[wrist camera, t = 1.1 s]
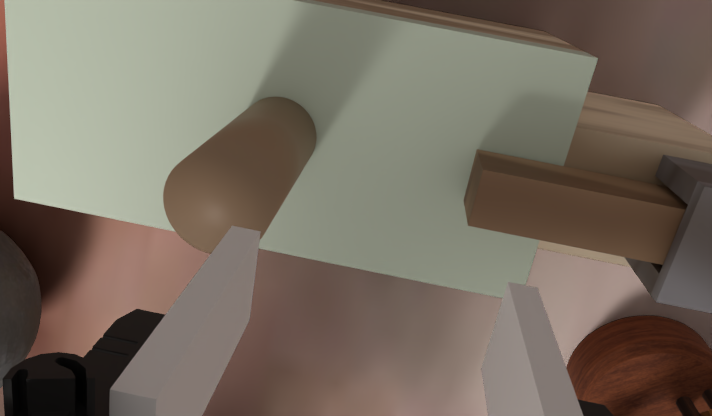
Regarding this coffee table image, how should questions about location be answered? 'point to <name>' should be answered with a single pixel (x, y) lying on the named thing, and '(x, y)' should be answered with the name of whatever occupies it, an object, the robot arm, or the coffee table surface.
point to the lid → (286, 126)
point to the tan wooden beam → (572, 207)
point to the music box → (644, 368)
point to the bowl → (16, 305)
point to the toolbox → (624, 163)
